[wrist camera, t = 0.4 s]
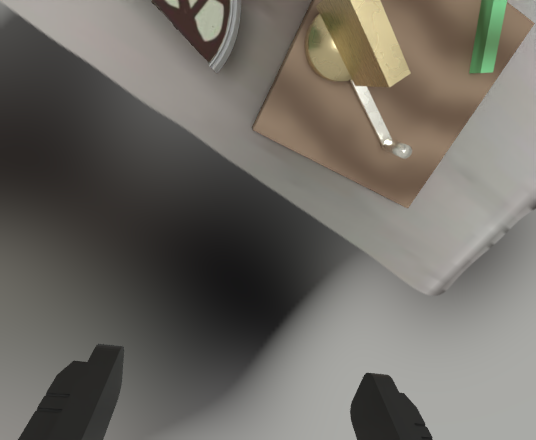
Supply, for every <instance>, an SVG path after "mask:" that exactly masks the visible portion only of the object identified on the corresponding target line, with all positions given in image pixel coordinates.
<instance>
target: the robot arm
mask: <svg viewBox="0 0 536 440" xmlns="http://www.w3.org/2000/svg"><path fill="white" fill-rule="evenodd" d="M123 358H124V347H123V346H114V345H104V344H98V345H97V346H96V347H95V349H94V351H93V353H92V355H91V356H90V358H89V360H88V362H80V361H73V362H72V363H71V364H70V365H69V366H67V367H66V368H65V369H64V370H62V371H61V372H60V373H59V374H58V375H57V376H56V378H55V379H54V381H53V383H52V384H51V386H50V388H49V389H48V391H47V393H46V396H44V398H43V399H42V401H41V403H40V404H39V406H38V408H37V411H35V413H34V414H33V416H32V418H31V419H30V421H29V423H28V424H27V426H26V428H25V429H24V431H23V433H22V434H21V436H20V437H19V439H18V440H103V438H104V436H105V433H106V430H107V428H108V425H109V422H110V420H111V417H112V414H113V411H114V409H115V406H116V403H117V400H118V397H119V393H120V389H121V384H122V373H123ZM350 414H351V421H352V425H353V428H354V431H355V434H356V437H357V440H432V436H431V434H430V432H429V430H428V428H427V427H425V422H424V421H423V419H422V417H421V415H420V413H419V411H418V409H417V407H416V406H415V405H414V404H413V403H412V402H411V401H410V400H409V399H408V397H407V396H406V395H405V394H404V393H399V391H398V389H397V387H396V385H395V384H394V382H393V380H392V378H391V377H390V376H389V375H384V374H374V373H366V374H365V375H364V377H363V379H362V381H361V383H360V385H359V388H358V390H357V392H356V394H355V396H354V398H353V401H352V404H351V410H350Z"/></svg>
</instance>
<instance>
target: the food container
mask: <svg viewBox="0 0 536 440" xmlns="http://www.w3.org/2000/svg"><path fill="white" fill-rule="evenodd" d="M151 1H152V3H153V4H154V5H156V6H157V8H158V9H159V10H160V11H162V13H163V14H164V15H165V16H166V17H167V18H168V19H169V20H170V21H171V22H172V23H173V25H174V27H175V28H176V29H177V30H179V31H180V32H181V33H182V34H183V35H184V37H185V38H186V39H187V40H188V41H189V42H190V43H191V45H192V46H194V47H195V48H196V49H197V51H198V52H199V53H200V54H201V55H202V56H203V57H204V58H205V59H206V60H207V61H208V64H209V67H211V68H212V69H213V70H214V71H215V72H216V73H218V72H219V71H220V69H221V68H222V67H223V65H224V64H225V62H226V61H227V59H228V57H229V55H230V53H231V51H232V49H233V46H234V44H235V41H236V38H237V34H238V29H239V25H240V16H241V0H151Z"/></svg>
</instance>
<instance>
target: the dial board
mask: <svg viewBox="0 0 536 440" xmlns="http://www.w3.org/2000/svg"><path fill="white" fill-rule="evenodd" d="M321 1H322V0H312V2H311V4H310V6H309V8H308V10H307V12H306V14H305V16H304V19H303V21H302V23H301V25H300V27H299V29H298V31H297V33H296V35H295V38H294V40H293V42H292V44H291V46H290V48H289V50H288V52H287V55H286V57H285V59H284V61H283V63H282V65H281V67H280V69H279V71H278V74H277V76H276V78H275V80H274V82H273V84H272V86H271V88H270V90H269V93H268V95H267V97H266V99H265V101H264V103H263V105H262V107H261V110H260V112H259V114H258V116H257V118H256V120H255V122H254V124H253V126H252V129H253V130H254V131H256V132H258V133H260V134H261V135H263V136H265V137H267V138H269V139H271V140H273V141H275V142H277V143H279V144H281V145H283V146H285V147H287V148H289V149H291V150H293V151H295V152H297V153H299V154H301V155H303V156H305V157H307V158H309V159H311V160H313V161H315V162H317V163H319V164H321V165H323V166H325V167H327V168H329V169H331V170H333V171H335V172H337V173H339V174H341V175H343V176H345V177H347V178H349V179H351V180H353V181H355V182H356V183H358V184H360V185H362V186H364V187H366V188H368V189H370V190H372V191H374V192H376V193H378V194H380V195H382V196H384V197H386V198H388V199H390V200H392V201H394V202H396V203H398V204H400V205H402V206H404V207H406V208H408V207H409V206H410V205H411V203H412V202H413V200H414V199H415V197H416V196H417V194H418V193H419V191H420V190H421V188H422V187H423V186H424V184H425V183H426V181H427V180H428V178H429V177H430V175H431V174H432V172H433V171H434V170H435V168H436V167H437V165H438V164H439V162H440V161H441V159H442V158H443V156H444V155H445V153H446V152H447V151H448V149H449V148H450V146H451V145H452V143H453V142H454V140H455V139H456V137H457V136H458V135H459V133H460V132H461V130H462V129H463V127H464V126H465V124H466V123H467V121H468V120H469V118H470V117H471V116H472V114H473V113H474V111H475V110H476V108H477V107H478V105H479V104H480V102H481V101H482V100H483V98H484V97H485V95H486V94H487V92H488V91H489V89H490V88H491V86H492V85H493V83H494V82H495V81H496V79H497V78H498V76H499V75H500V73H501V72H502V70H503V69H504V67H505V66H506V64H507V63H508V62H509V60H510V59H511V57H512V56H513V54H514V53H515V51H516V50H517V48H518V47H519V46H520V44H521V43H522V41H523V40H524V38H525V37H526V35H527V34H528V32H529V31H530V29H531V28H532V27H533V25H534V24H535V23H533V22H532V21H531V20H530V19H528V18H527V17H526V16H524V15H523V14H522V13H521V12H519V11H518V10H517V9H515V8H514V7H513V6H512V5H510V4H509V3H508V2H507V0H380V1H381V3H382V6H383V8H384V10H385V13H386V15H387V18H388V20H389V22H390V25H391V27H392V30H393V32H394V34H395V37H396V39H397V42H398V44H399V46H400V49H401V51H402V54H403V56H404V58H405V61H406V63H407V66H408V68H409V70H410V73H411V74H409V75H408V76H406V77H405V78H403V79H402V80H400V81H399V82H397V83H396V84H394V85H393V86H391V87H368V86H367V88H368V90H369V92H370V94H371V96H372V98H373V101H374V103H375V105H376V107H377V109H378V111H379V113H380V115H381V117H382V119H383V121H384V123H385V126H386V128H387V130H388V132H389V134H390V136H391V138H392V139H393V140H396V141H398V142H401V143H404V144H406V145H409V146H410V147H411V148H412V154H411V155H410V156H409V157H408V158H405V159H403V158H401V157H399V156H396V155H394V154H392V153H390V152H388V151H386V150H384V149H382V147H381V143H380V141H379V139H378V137H377V135H376V133H375V131H374V129H373V127H372V125H371V123H370V121H369V119H368V117H367V115H366V113H365V111H364V109H363V107H362V105H361V103H360V101H359V99H358V97H357V95H356V93H355V91H354V89H353V87H352V85H351V83H350V81H329V80H326V79H323V78H321V77H320V76H318V75H317V74H316V73H315V72H314V71H313V70H312V69H311V67H310V65H309V63H308V61H307V58H306V54H305V37H306V33H307V30H308V28H309V26H310V24H311V22H312V21H313V19H314V18H315V17H316V16H317V15H318V14H319V11H318V9H317V7H316V6H317V5H318V4H319V3H320V2H321Z"/></svg>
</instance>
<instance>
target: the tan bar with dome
mask: <svg viewBox="0 0 536 440" xmlns="http://www.w3.org/2000/svg"><path fill="white" fill-rule="evenodd" d="M316 7H317V9H318V11H319V14H318V15H317V16H316V17H315V18H314V19H313V21H312V22H311V24H310V26H309V28H308V30H307V33H306V37H305V54H306V58H307V61H308V63H309V65H310V67H311V69H312V70H313V71H314V72H315V73H316V74H317V75H318V76H320V77H321V78H323V79H326V80H329V81H350V83H351V85H352V87H353V89H354V91H355V93H356V95H357V97H358V99H359V101H360V103H361V105H362V107H363V109H364V111H365V113H366V115H367V117H368V119H369V121H370V123H371V125H372V127H373V129H374V131H375V133H376V135H377V137H378V139H379V141H380V143H381V147H382V149H384V150H386V151H388V152H390V153H392V154H394V155H396V156H399V157H401V158H403V159H405V158H408V157H409V156H410V155H411V154H412V148H411V147H410V146H409V145H406V144H404V143H401V142H398V141H396V140H393V139H392V138H391V136H390V134H389V132H388V130H387V128H386V126H385V123H384V121H383V119H382V117H381V115H380V113H379V111H378V109H377V107H376V105H375V103H374V101H373V98H372V96H371V94H370V92H369V90H368V88H367V86H368V87H391V86H393V85H394V84H396V83H397V82H399V81H400V80H402V79H403V78H405V77H406V76H408V75H409V74H411V73H410V70H409V68H408V66H407V63H406V61H405V58H404V56H403V54H402V51H401V49H400V46H399V44H398V42H397V39H396V37H395V34H394V32H393V30H392V27H391V25H390V22H389V20H388V18H387V15H386V13H385V10H384V8H383V6H382V3H381V1H380V0H322V1H321V2H320V3H319V4H318V5H317V6H316Z"/></svg>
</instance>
